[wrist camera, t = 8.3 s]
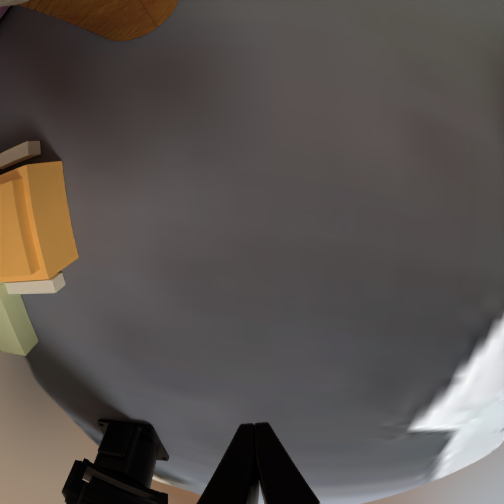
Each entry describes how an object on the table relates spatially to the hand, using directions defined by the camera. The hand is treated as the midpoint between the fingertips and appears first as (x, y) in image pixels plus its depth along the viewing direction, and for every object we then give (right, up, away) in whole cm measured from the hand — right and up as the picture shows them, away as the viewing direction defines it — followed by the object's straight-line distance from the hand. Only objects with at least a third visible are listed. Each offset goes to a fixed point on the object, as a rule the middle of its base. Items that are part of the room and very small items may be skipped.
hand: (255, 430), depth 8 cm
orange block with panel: (-17, +8, +10) cm, 21 cm away
